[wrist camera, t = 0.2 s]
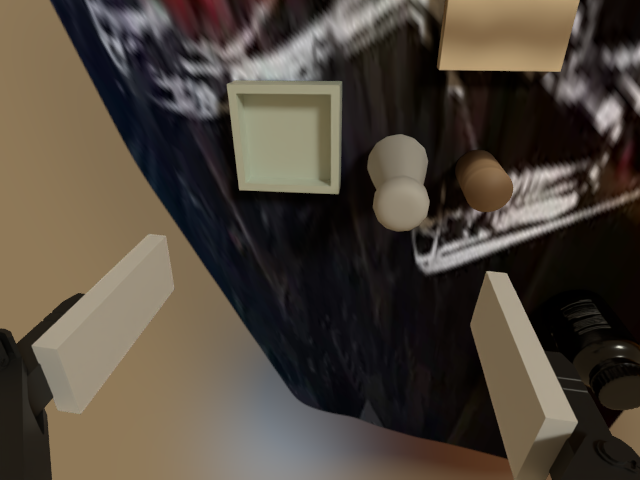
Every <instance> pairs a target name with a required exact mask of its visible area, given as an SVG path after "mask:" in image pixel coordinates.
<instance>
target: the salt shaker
mask: <svg viewBox="0 0 640 480" xmlns="http://www.w3.org/2000/svg"><path fill="white" fill-rule="evenodd" d="M427 164H428V159H427V155H426V152H425V148H424V147H423V146H421V145H420V144H419V143H418V142H417V141H416V140H415V139H414V138H411V137H408V136H405V135H402V134H399V135H393V136H388V137H386V138H384V139H383V140H381V141H379V142H378V143H376V145H375V146H374V148H373V150H372V151H371V153H370V155H369V158H368V166H367V169H368V172H369V174H370V177H371V180H372V182H373V184H374V186H375V188H376V190H377V191H376V192H375V195H374V202H373V209H374V212H375V214H376V217H377V219H378V221H379V222H380V223H381V224H382V225H383V226H384V227H386V228H387V229H391V230H394V231H409V230H411V229H413V228H415V227H417V226H419V225H420V224H421V223H422V221H423V220H424V219H425V218H426V216H427V213H428V208H429V202H430V201H429V198H428V194H427V191H426V188H425V187H424V186H423V183H424V179H425V176H426V170H427Z"/></svg>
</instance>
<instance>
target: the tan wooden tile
mask: <svg viewBox="0 0 640 480" xmlns="http://www.w3.org/2000/svg"><path fill="white" fill-rule="evenodd" d="M578 4H579V0H445V6H444V14H443V22H442V30H441V38H440V46H439V53H438V61H437V68H438V69H439V70H481V71H559V72H560V71H561V68H562V64H563V60H564V56H565V53H566V49H567V45H568V41H569V38H570V34H571V30H572V26H573V23H574V19H575V15H576V11H577V8H578Z"/></svg>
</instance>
